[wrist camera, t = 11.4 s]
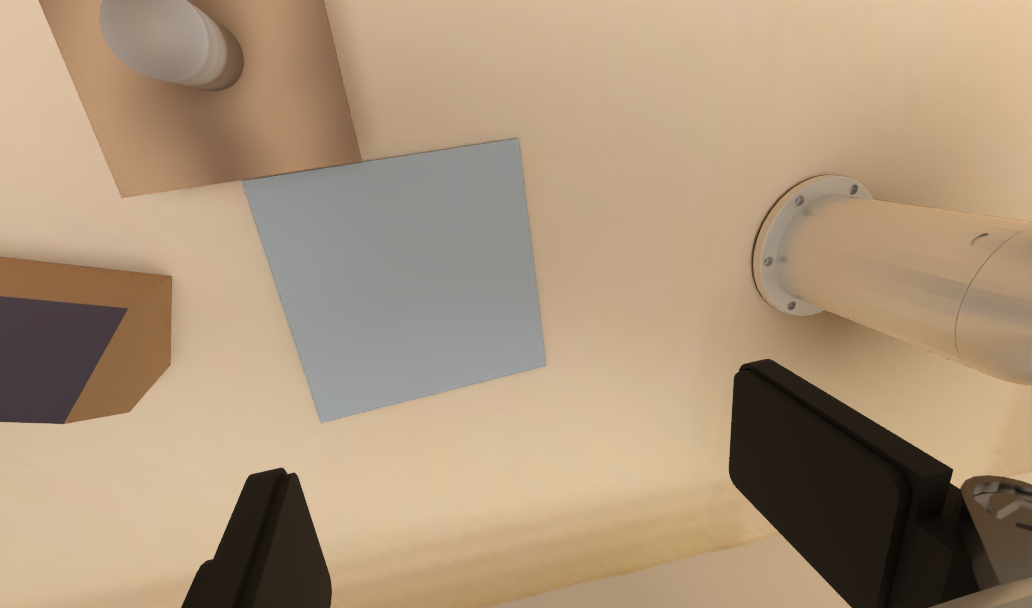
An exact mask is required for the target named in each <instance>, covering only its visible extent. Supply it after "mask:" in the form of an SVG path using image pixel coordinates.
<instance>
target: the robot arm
mask: <svg viewBox="0 0 1032 608" xmlns="http://www.w3.org/2000/svg"><path fill="white" fill-rule="evenodd" d="M753 269H754V278H755V281H756V285H757V288H758V290H759V292H760V293H761V295H762V297H763V298H764V299H765V300H766V301H767V302H768V303H769V304H770V305H771V306H773V307H774V308H776V309H778V310H780V311H782V312H784V313H787V314H790V315H796V316H809V315H813V314H817V313H820V312H822V311H825V310H826V311H829V312H831V313H834V314H836V315H839V316H841V317H844V318H846V319H849V320H851V321H854V322H856V323H859V324H861V325H864V326H866V327H869V328H871V329H874V330H876V331H879V332H881V333H884V334H886V335H889V336H891V337H894V338H896V339H899V340H901V341H904V342H906V343H909V344H911V345H914V346H916V347H919V348H921V349H923V350H926V351H928V352H931V353H933V354H936V355H938V356H941V357H943V358H946V359H948V360H951V361H954V362H956V363H958V364H961V365H964V366H966V367H969V368H971V369H974V370H976V371H979V372H981V373H984V374H986V375H989V376H992V377H994V378H997V379H1001V380H1004V381H1007V382H1011V383H1016V384H1022V385H1031V386H1032V222H1029V221H1022V220H1014V219H1007V218H1000V217H993V216H986V215H979V214H972V213H965V212H958V211H951V210H944V209H936V208H929V207H922V206H915V205H908V204H901V203H894V202H887V201H880V200H874V198H873V196H872V195H871V193H870V192H869V190H868V189H867V188H866V187H865V186H864V185H863V184H862V183H860V182H859V181H857V180H855V179H853V178H850V177H845V176H838V175H823V176H818V177H813V178H811V179H809V180H806V181H804V182H802V183H800V184H799V185H797V186H796V187H794V188H793V189H791V190H790V191H789V192H788V193H787V194H786V195H784V196H783V197H782V198H781V199H780V200H779V202H778V203H777V204H776V205H775V206H774V208H773V209H772V210H771V212H770V213H769V215H768V217H767V218H766V220H765V222H764V223H763V226H762V228H761V230H760V233H759V235H758V238H757V242H756V246H755V250H754V260H753ZM952 473H953V469H951V468H950V467H948V466H947V465H945V464H943V463H942V462H940V461H938V460H937V459H935V458H933V457H932V456H930V455H928V454H927V453H925V452H923V451H922V450H920V449H918V448H917V447H915V446H913V445H912V444H910V443H908V442H907V441H905V440H904V439H902V438H900V437H899V436H897V435H895V434H894V433H892V432H890V431H889V430H887V429H885V428H884V427H882V426H880V425H879V424H877V423H875V422H874V421H872V420H870V419H869V418H867V417H865V416H864V415H862V414H860V413H859V412H857V411H856V410H854V409H852V408H851V407H849V406H847V405H846V404H844V403H842V402H841V401H839V400H837V399H836V398H834V397H832V396H831V395H829V394H827V393H826V392H824V391H822V390H821V389H819V388H817V387H816V386H814V385H813V384H811V383H809V382H808V381H806V380H804V379H803V378H801V377H799V376H798V375H796V374H794V373H793V372H791V371H789V370H788V369H786V368H784V367H783V366H781V365H779V364H778V363H776V362H774V361H773V360H770V359H764V360H759V361H755V362H751V363H746V364H743V365H742V366H741V367H740V369H739V372H737V373H736V374H735V376H734V387H733V405H732V422H731V439H730V457H729V474H730V478H731V480H732V482H733V484H734V485H735V487H736V488H737V489H738V490H739V491H740V492H741V493H742V494H743V495H744V496H745V497H746V498H747V499H748V500H749V501H750V502H751V503H752V504H753V506H754V507H755V508H756V509H757V510H758V511H759V512H760V513H761V514H762V515H763V516H764V517H765V518H766V519H767V520H768V521H769V522H770V523H771V524H772V525H773V526H774V527H775V528H776V529H777V530H778V531H779V533H780V534H781V535H782V536H784V538H785V539H786V540H787V541H788V542H789V543H790V544H791V545H792V546H793V547H794V548H795V549H796V550H797V551H798V552H799V553H800V554H801V555H802V556H803V557H804V558H805V560H806V561H807V562H809V564H810V565H811V566H812V567H813V568H814V569H815V570H816V571H817V572H818V573H819V574H820V575H821V576H822V577H823V578H824V579H825V580H826V581H827V582H828V583H829V584H830V586H831V587H832V588H833V589H834V590H835V591H836V592H837V593H838V594H839V595H840V596H841V597H842V598H843V599H844V600H845V601H846V602H847V603H848V604H849V605H850V606H851V607H852V608H1032V485H1031V484H1029V483H1026V482H1023V481H1019V480H1015V479H1011V478H1007V477H1000V476H990V475H986V476H975V477H972V478H970V479H967V480H965V482H964V483H963V484H962V486H961V489H959V488H957V487H956V486H954V485H953V484H951V483H950V480H951V476H952ZM331 596H332V587H331V579H330V575H329V572H328V569H327V565H326V562H325V559H324V556H323V553H322V550H321V547H320V544H319V541H318V538H317V534H316V531H315V528H314V525H313V522H312V519H311V516H310V513H309V510H308V506H307V503H306V500H305V497H304V494H303V491H302V488H301V485H300V482H299V479H298V476H297V475H296V473H291V474H287V472H286V471H285V469H284V468H278V469H273V470H269V471H264V472H260V473H255V474H251V475H249V476H248V478H247V480H246V482H245V485H244V487H243V489H242V492H241V494H240V496H239V499H238V501H237V504H236V506H235V508H234V511H233V513H232V515H231V518H230V520H229V523H228V525H227V527H226V530H225V532H224V535H223V537H222V539H221V542H220V544H219V546H218V549H217V551H216V554H215V556H214V558H213V559H212V560H208V561H206V562H205V563H203V564H202V565H201V566H200V568H199V570H198V572H197V573H196V575H195V578H194V580H193V582H192V584H191V587H190V589H189V591H188V593H187V596H186V598H185V600H184V602H183V605H182V607H181V608H330V605H331Z"/></svg>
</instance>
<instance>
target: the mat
mask: <svg viewBox="0 0 1032 608" xmlns="http://www.w3.org/2000/svg"><path fill="white" fill-rule="evenodd" d="M242 184H243V187H244V190H245V193H246V196H247V199H248V202H249V205H250V208H251V211H252V214H253V217H254V220H255V223H256V226H257V229H258V232H259V235H260V238H261V241H262V245H263V248H264V251H265V254H266V257H267V260H268V263H269V266H270V269H271V272H272V275H273V278H274V281H275V284H276V287H277V290H278V293H279V296H280V299H281V302H282V305H283V309H284V312H285V315H286V318H287V321H288V324H289V327H290V330H291V333H292V336H293V339H294V342H295V345H296V348H297V351H298V354H299V357H300V360H301V363H302V366H303V369H304V372H305V376H306V379H307V382H308V385H309V388H310V391H311V394H312V397H313V400H314V403H315V406H316V409H317V412H318V415H319V418H320V421H321V423H323V422H327V421H331V420H335V419H339V418H343V417H347V416H351V415H355V414H359V413H362V412H366V411H370V410H374V409H378V408H382V407H386V406H390V405H394V404H398V403H402V402H406V401H410V400H414V399H418V398H422V397H426V396H429V395H433V394H437V393H441V392H445V391H449V390H453V389H457V388H461V387H465V386H469V385H473V384H477V383H481V382H485V381H489V380H493V379H496V378H500V377H504V376H508V375H512V374H516V373H520V372H524V371H528V370H532V369H536V368H540V367H544V366H546V358H545V350H544V342H543V334H542V326H541V317H540V309H539V301H538V293H537V285H536V277H535V269H534V261H533V252H532V244H531V236H530V228H529V220H528V212H527V204H526V196H525V187H524V179H523V171H522V163H521V155H520V147H519V139H518V138H516V139H509V140H503V141H496V142H490V143H483V144H477V145H470V146H464V147H457V148H451V149H445V150H438V151H432V152H425V153H419V154H412V155H406V156H399V157H393V158H386V159H380V160H373V161H367V162H360V163H354V164H347V165H341V166H334V167H328V168H321V169H315V170H308V171H302V172H295V173H289V174H282V175H276V176H269V177H263V178H256V179H250V180H243V181H242Z"/></svg>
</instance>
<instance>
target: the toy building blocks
mask: <svg viewBox="0 0 1032 608" xmlns="http://www.w3.org/2000/svg"><path fill="white" fill-rule="evenodd" d="M171 296H172V277H171V276H162V275H154V274H145V273H136V272H127V271H119V270H110V269H101V268H92V267H84V266H75V265H66V264H57V263H49V262H40V261H31V260H22V259H14V258H5V257H0V422H21V423H52V424H66V423H72V422H77V421H83V420H88V419H94V418H100V417H105V416H111V415H116V414H122V413H128V412H130V411H131V410H132V409H133V407H134V406H135V405H136V404H137V403H138V402H139V400H140V399H141V398H142V397H143V396H144V395H145V394H146V392H147V391H148V390H149V389H150V388H151V387H152V385H153V384H154V383H155V382H156V381H157V380H158V378H159V377H160V376H161V375H162V374H163V373H164V371H165V370H166V369H167V368H168V367H169V366H170V357H171Z"/></svg>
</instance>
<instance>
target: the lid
mask: <svg viewBox="0 0 1032 608" xmlns="http://www.w3.org/2000/svg"><path fill="white" fill-rule="evenodd" d="M39 2H40V5H41V7H42V9H43V12H44V14H45V17H46V19H47V21H48V24H49V26H50V28H51V31H52V33H53V36H54V38H55V40H56V43H57V45H58V47H59V50H60V52H61V55H62V57H63V59H64V62H65V64H66V66H67V69H68V71H69V74H70V76H71V78H72V81H73V83H74V85H75V88H76V90H77V93H78V95H79V97H80V100H81V102H82V104H83V107H84V109H85V112H86V114H87V116H88V119H89V121H90V123H91V126H92V128H93V131H94V133H95V135H96V138H97V140H98V143H99V145H100V147H101V150H102V152H103V154H104V157H105V159H106V162H107V164H108V166H109V169H110V171H111V173H112V176H113V178H114V181H115V183H116V185H117V188H118V190H119V192H120V195H121V197H122V198H125V197H132V196H139V195H145V194H152V193H158V192H165V191H171V190H178V189H184V188H191V187H197V186H204V185H210V184H217V183H223V182H230V181H236V180H243V179H249V178H256V177H262V176H269V175H275V174H282V173H288V172H295V171H301V170H308V169H314V168H321V167H327V166H334V165H340V164H347V163H354V162H360V161H361V156H360V152H359V148H358V144H357V139H356V135H355V131H354V127H353V123H352V118H351V114H350V110H349V106H348V102H347V97H346V93H345V89H344V85H343V81H342V76H341V72H340V68H339V64H338V59H337V55H336V51H335V47H334V43H333V38H332V34H331V30H330V26H329V22H328V17H327V13H326V9H325V5H324V1H323V0H39Z"/></svg>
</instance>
